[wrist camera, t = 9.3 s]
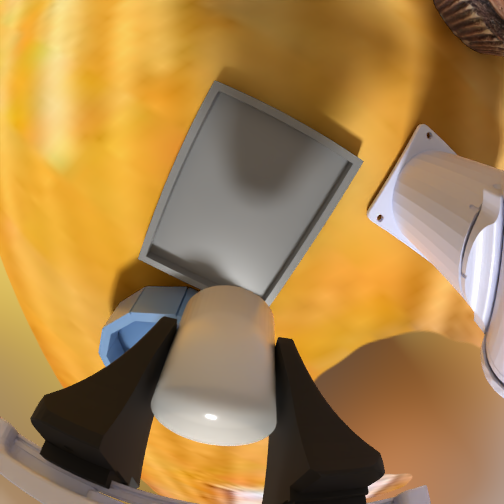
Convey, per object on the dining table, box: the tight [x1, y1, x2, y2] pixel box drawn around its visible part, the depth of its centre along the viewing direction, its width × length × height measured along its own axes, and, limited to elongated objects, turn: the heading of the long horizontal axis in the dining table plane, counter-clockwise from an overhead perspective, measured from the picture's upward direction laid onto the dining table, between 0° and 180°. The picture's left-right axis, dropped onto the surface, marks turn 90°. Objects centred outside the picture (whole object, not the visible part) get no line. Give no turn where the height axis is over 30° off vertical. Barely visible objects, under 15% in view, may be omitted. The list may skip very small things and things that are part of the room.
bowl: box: [99, 286, 198, 366], centre depth 23 cm, size 14×14×4 cm
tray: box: [138, 81, 364, 306], centre depth 18 cm, size 10×13×1 cm
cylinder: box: [151, 285, 277, 446], centre depth 11 cm, size 4×4×6 cm
